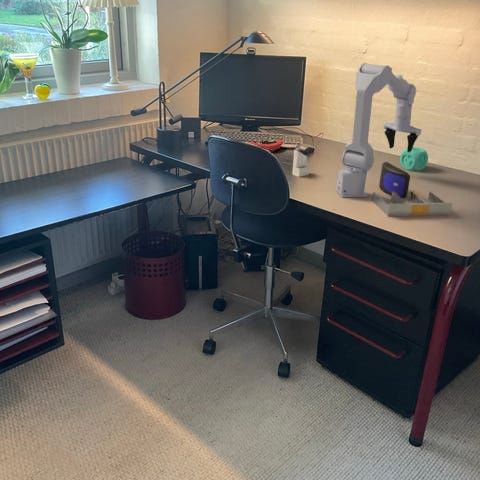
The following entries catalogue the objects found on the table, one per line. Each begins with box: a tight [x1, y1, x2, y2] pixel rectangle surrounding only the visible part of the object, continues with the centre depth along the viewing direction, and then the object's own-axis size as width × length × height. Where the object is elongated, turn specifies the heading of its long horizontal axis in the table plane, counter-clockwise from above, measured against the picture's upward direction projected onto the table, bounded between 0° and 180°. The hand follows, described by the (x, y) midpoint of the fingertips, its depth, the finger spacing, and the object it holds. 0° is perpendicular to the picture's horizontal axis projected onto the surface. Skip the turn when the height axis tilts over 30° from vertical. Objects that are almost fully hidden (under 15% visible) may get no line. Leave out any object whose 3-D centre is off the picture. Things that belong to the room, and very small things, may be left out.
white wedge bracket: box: [292, 149, 311, 178], centre depth 207 cm, size 4×10×9 cm, turn 130°
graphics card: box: [222, 134, 284, 153], centre depth 244 cm, size 20×32×4 cm, turn 59°
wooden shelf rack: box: [371, 190, 453, 217], centre depth 178 cm, size 21×15×4 cm
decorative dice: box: [399, 146, 429, 172], centre depth 220 cm, size 8×8×8 cm
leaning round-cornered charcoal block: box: [378, 161, 411, 200], centre depth 190 cm, size 16×5×9 cm, turn 17°
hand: (400, 149), depth 207 cm, fingers open, 7 cm apart
